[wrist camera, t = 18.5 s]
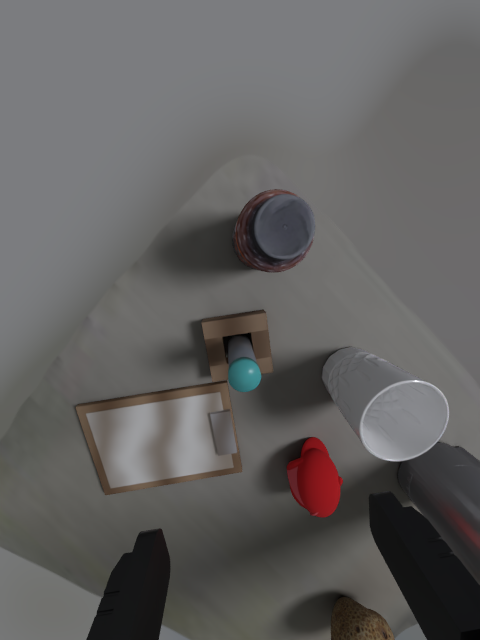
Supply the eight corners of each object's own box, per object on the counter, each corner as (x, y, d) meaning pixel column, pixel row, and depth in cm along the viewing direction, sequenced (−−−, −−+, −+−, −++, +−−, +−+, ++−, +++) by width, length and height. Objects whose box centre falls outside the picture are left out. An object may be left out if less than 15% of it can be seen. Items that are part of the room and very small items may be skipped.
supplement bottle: (220, 242, 26) (217, 228, 15) (258, 198, 25) (284, 149, 14) (260, 280, 27) (284, 293, 16) (298, 239, 27) (350, 224, 16)
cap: (337, 510, 32) (366, 502, 27) (298, 527, 29) (324, 520, 25) (308, 445, 36) (330, 430, 32) (274, 454, 34) (292, 439, 30)
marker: (249, 329, 29) (259, 359, 20) (251, 351, 29) (262, 389, 20) (226, 332, 29) (226, 363, 20) (228, 354, 29) (230, 393, 20)
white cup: (319, 342, 30) (366, 381, 20) (382, 341, 30) (458, 379, 20) (314, 401, 31) (354, 463, 22) (373, 399, 32) (439, 460, 22)
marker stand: (263, 309, 28) (266, 312, 26) (270, 365, 30) (273, 372, 28) (202, 319, 28) (201, 322, 26) (213, 374, 30) (212, 381, 28)
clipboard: (226, 380, 30) (227, 384, 29) (242, 468, 33) (242, 475, 32) (78, 404, 29) (72, 409, 28) (107, 491, 32) (103, 498, 31)
